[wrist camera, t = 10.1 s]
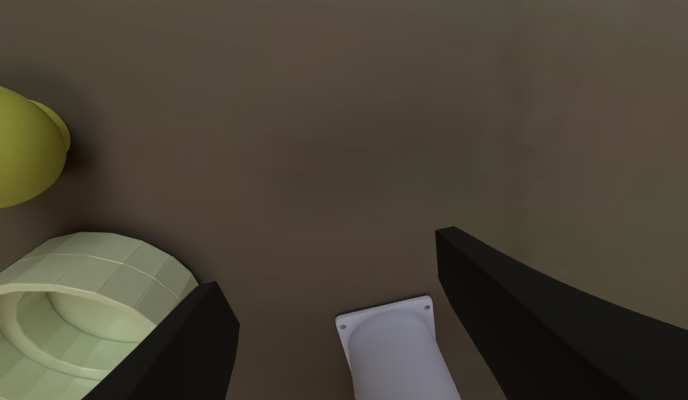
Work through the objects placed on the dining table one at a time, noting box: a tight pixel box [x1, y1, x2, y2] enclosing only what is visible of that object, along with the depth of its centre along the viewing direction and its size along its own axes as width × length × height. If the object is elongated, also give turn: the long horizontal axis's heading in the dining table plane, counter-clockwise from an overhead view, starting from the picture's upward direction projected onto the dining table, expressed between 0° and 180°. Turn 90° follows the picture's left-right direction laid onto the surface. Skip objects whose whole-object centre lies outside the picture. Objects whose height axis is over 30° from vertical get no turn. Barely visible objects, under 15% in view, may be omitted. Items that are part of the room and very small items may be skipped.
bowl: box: [0, 232, 199, 400], centre depth 18 cm, size 11×11×5 cm
